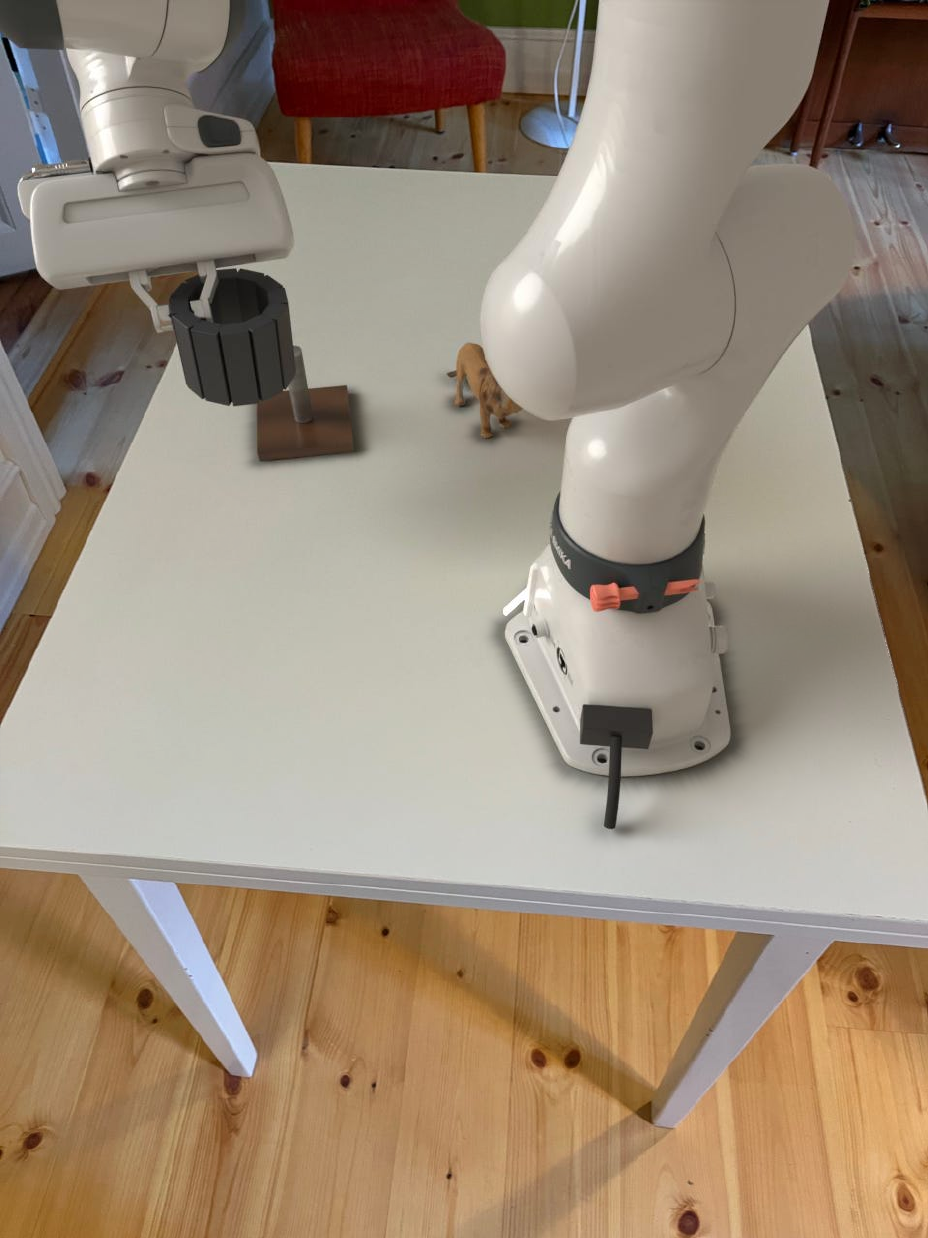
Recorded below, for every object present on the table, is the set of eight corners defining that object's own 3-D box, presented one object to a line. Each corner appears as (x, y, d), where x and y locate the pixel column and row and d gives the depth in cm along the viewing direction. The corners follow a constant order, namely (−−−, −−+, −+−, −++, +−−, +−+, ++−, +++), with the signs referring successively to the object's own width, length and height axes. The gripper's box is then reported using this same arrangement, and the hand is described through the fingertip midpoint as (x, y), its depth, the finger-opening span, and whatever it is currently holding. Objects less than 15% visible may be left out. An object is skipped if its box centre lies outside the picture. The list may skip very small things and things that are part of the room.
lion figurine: (542, 439, 100) (547, 369, 93) (501, 458, 98) (504, 388, 91) (465, 370, 107) (465, 301, 100) (426, 386, 105) (423, 317, 98)
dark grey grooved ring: (302, 398, 79) (294, 327, 74) (189, 411, 78) (173, 340, 72) (287, 334, 85) (279, 263, 79) (181, 344, 83) (166, 273, 78)
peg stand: (354, 451, 99) (344, 376, 91) (259, 461, 98) (241, 386, 90) (347, 393, 105) (338, 318, 97) (258, 401, 104) (242, 327, 96)
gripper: (-1, 151, 69) (43, 338, 71) (272, 119, 73) (308, 299, 74) (23, 182, 76) (63, 354, 77) (274, 151, 79) (307, 317, 81)
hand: (185, 327), depth 76 cm, fingers closed on dark grey grooved ring
